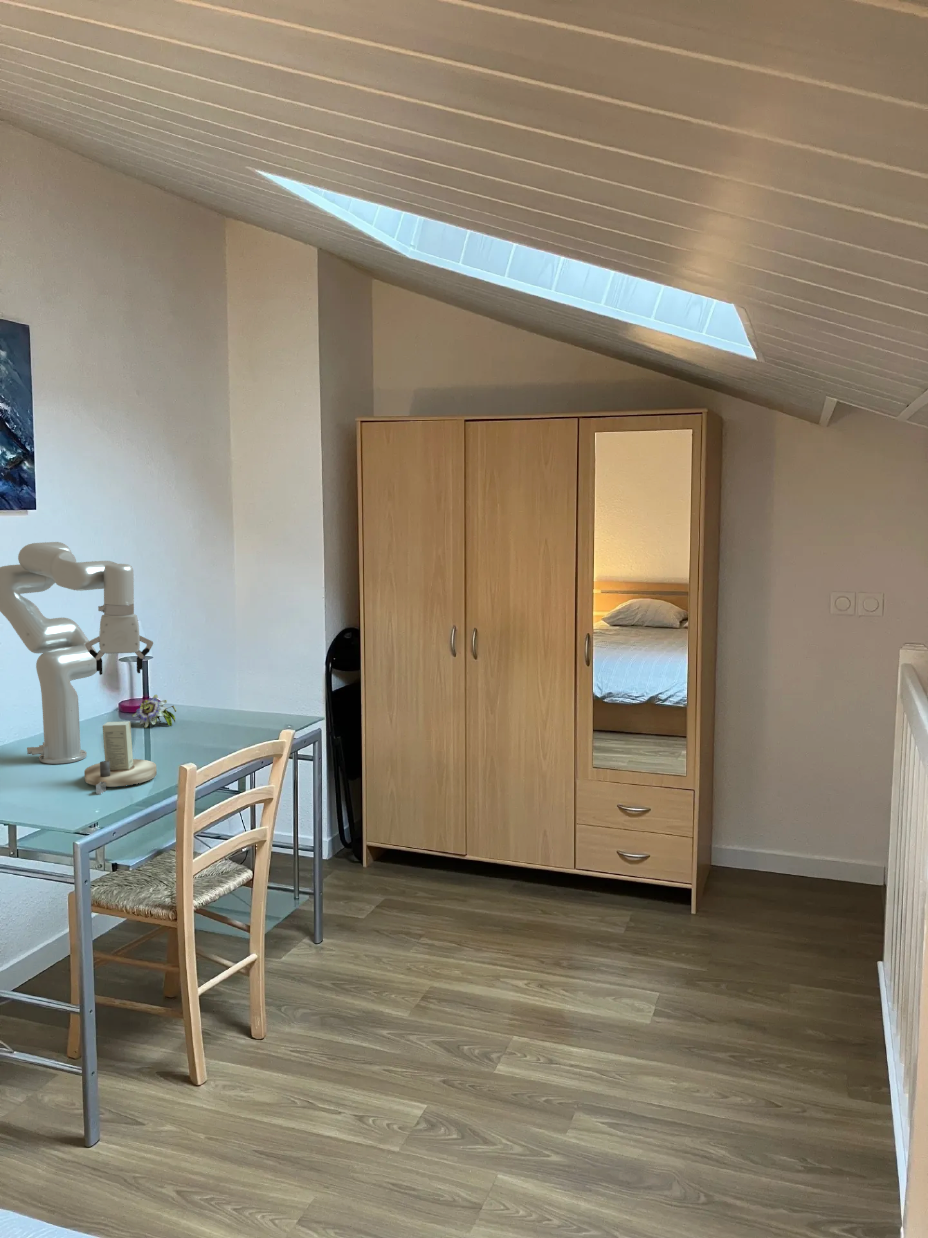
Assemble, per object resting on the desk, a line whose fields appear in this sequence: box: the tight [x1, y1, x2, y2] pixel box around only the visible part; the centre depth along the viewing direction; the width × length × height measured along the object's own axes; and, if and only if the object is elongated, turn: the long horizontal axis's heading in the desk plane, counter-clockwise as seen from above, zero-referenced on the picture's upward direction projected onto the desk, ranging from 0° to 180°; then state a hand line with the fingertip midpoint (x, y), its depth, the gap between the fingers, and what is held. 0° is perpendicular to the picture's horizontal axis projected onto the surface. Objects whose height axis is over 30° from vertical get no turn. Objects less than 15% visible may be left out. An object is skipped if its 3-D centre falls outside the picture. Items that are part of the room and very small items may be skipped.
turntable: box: [84, 758, 158, 788], centre depth 260 cm, size 18×18×6 cm
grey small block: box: [95, 781, 107, 795], centre depth 249 cm, size 4×1×2 cm, turn 175°
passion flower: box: [131, 694, 177, 729], centre depth 321 cm, size 11×11×12 cm
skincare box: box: [102, 720, 134, 770], centre depth 259 cm, size 6×4×12 cm
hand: (119, 673), depth 265 cm, fingers open, 9 cm apart
